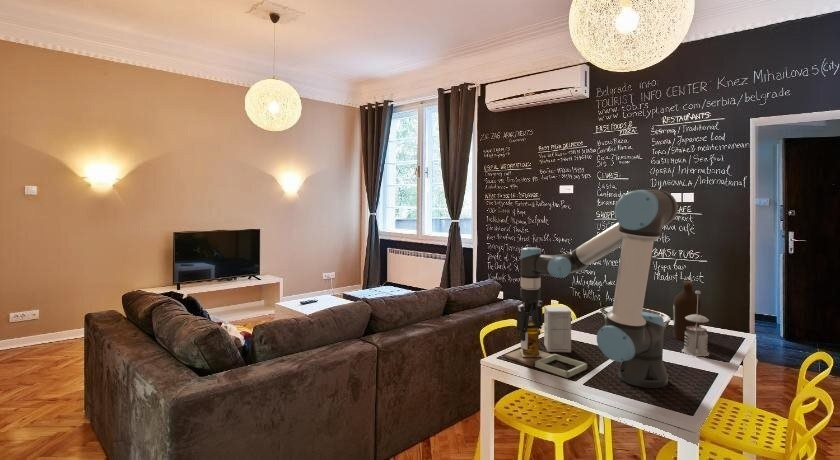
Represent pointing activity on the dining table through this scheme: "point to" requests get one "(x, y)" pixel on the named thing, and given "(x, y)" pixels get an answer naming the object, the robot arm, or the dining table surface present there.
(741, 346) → the dining table surface
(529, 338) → the condiment
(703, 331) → the french press
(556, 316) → the supplement box
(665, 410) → the dining table surface
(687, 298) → the olive oil
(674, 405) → the dining table surface
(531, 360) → the board
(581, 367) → the tray
